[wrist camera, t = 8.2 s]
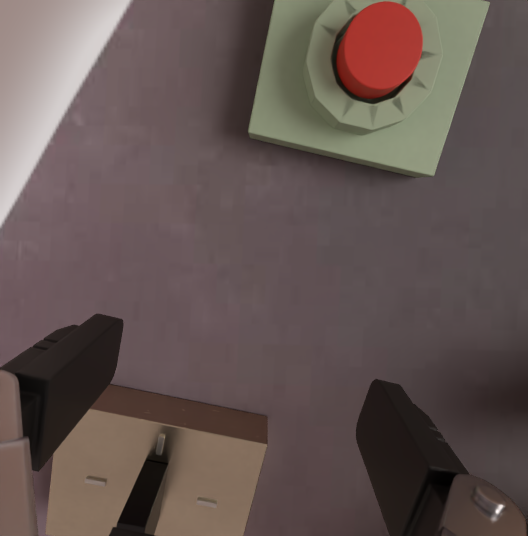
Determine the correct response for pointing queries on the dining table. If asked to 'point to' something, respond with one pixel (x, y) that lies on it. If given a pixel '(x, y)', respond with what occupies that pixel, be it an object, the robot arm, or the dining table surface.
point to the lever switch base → (160, 451)
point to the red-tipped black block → (144, 499)
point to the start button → (379, 49)
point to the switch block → (356, 108)
